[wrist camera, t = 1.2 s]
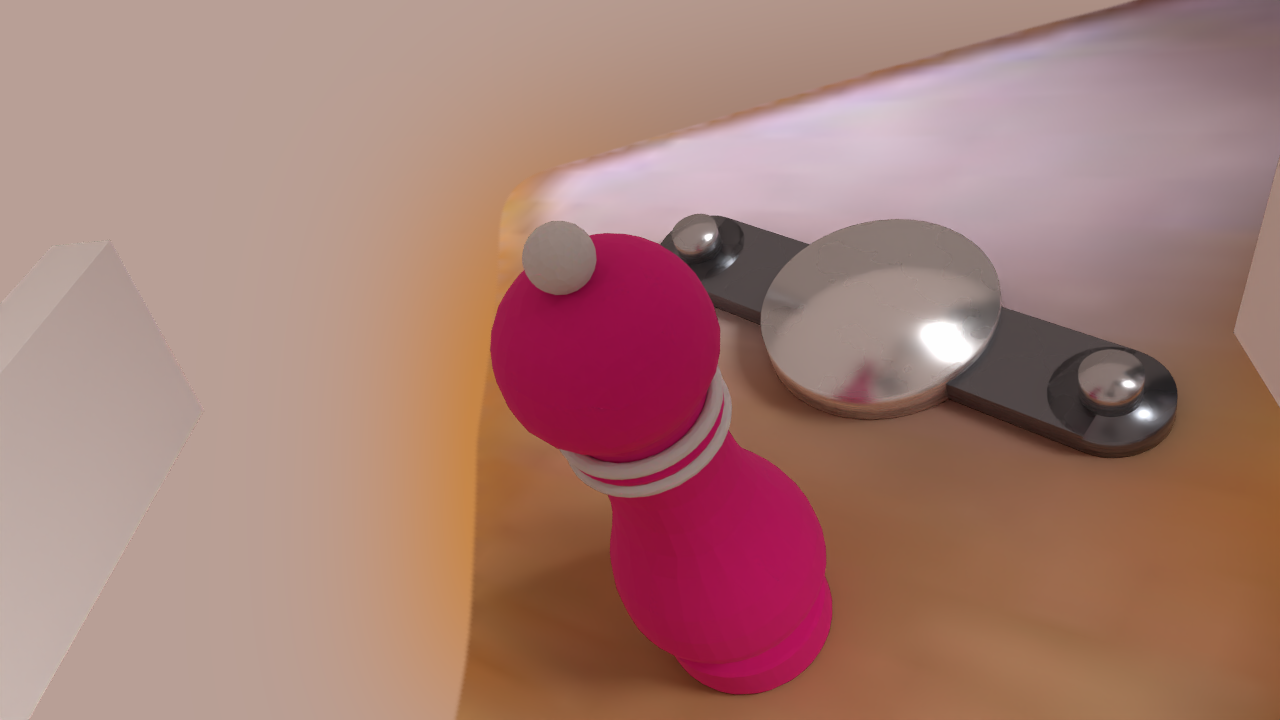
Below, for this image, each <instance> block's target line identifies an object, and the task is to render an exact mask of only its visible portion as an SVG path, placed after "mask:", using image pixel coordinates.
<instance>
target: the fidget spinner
mask: <svg viewBox="0 0 1280 720" xmlns="http://www.w3.org/2000/svg"><path fill="white" fill-rule="evenodd" d="M661 246H663V247H664V248H666V249H668V250H669V251H671V252H672V253H674V254H676V255H677V256H678V257H679V258H680V259H681V260H683V261H684V262H685V263H686V264H687V265H688V266H689V267H690V268H691V269H692V270H693V271H694V272H695V273H696V275H697V277H698V278H699V280H700V281H701V283H702V285H703V286H704V288H705V289H706V291H707V293H708V295H709V297H710V299H711V301H712V303H713V305H714V307H717V308H719V309H722V310H724V311H727V312H729V313H732V314H735V315H737V316H740V317H742V318H745V319H747V320H750V321H752V322H755V323H757V324H760V325H761V331H762V336H763V340H764V343H765V346H766V349H767V351H768V354H769V357H770V360H771V363H772V365H773V368H774V370H775V372H776V374H777V375H778V377H779V379H780V380H781V381H782V383H783V384H784V385H785V387H786V388H787V389H789V390H790V391H791V392H792V393H793V394H794V395H795V396H796V397H798V398H799V399H801V400H802V401H803V402H805V403H807V404H809V405H810V406H812V407H814V408H816V409H819V410H821V411H824V412H827V413H830V414H833V415H837V416H842V417H846V418H855V419H886V418H895V417H900V416H905V415H910V414H913V413H916V412H919V411H923V410H926V409H928V408H930V407H933V406H935V405H937V404H940V403H942V402H943V401H945V400H947V399H950V400H953V401H955V402H958V403H960V404H963V405H965V406H968V407H970V408H973V409H975V410H978V411H981V412H983V413H986V414H988V415H991V416H993V417H996V418H998V419H1001V420H1003V421H1006V422H1008V423H1011V424H1013V425H1016V426H1019V427H1021V428H1024V429H1026V430H1029V431H1031V432H1034V433H1036V434H1039V435H1041V436H1044V437H1046V438H1049V439H1052V440H1054V441H1057V442H1059V443H1062V444H1064V445H1067V446H1069V447H1072V448H1074V449H1077V450H1079V451H1082V452H1085V453H1088V454H1091V455H1095V456H1100V457H1109V458H1118V457H1128V456H1133V455H1136V454H1140V453H1143V452H1145V451H1147V450H1149V449H1151V448H1153V447H1155V446H1156V445H1158V444H1159V443H1160V442H1161V441H1162V440H1163V439H1164V438H1165V437H1166V436H1167V435H1168V434H1169V432H1170V431H1171V429H1172V427H1173V425H1174V421H1175V417H1176V407H1177V388H1176V384H1175V381H1174V379H1173V377H1172V376H1171V374H1170V373H1169V371H1168V370H1167V369H1166V368H1165V367H1164V366H1163V365H1162V364H1161V363H1160V362H1158V361H1157V360H1155V359H1154V358H1152V357H1150V356H1148V355H1146V354H1144V353H1142V352H1139V351H1136V350H1133V349H1130V348H1127V347H1124V346H1121V345H1118V344H1115V343H1112V342H1109V341H1105V340H1102V339H1099V338H1096V337H1093V336H1090V335H1087V334H1084V333H1081V332H1078V331H1075V330H1072V329H1068V328H1065V327H1062V326H1059V325H1056V324H1053V323H1050V322H1047V321H1044V320H1041V319H1038V318H1035V317H1031V316H1028V315H1025V314H1022V313H1019V312H1016V311H1013V310H1010V309H1007V308H1004V307H1002V304H1001V293H1000V286H999V280H998V277H997V274H996V271H995V269H994V267H993V265H992V264H991V262H990V260H989V259H988V257H987V256H986V255H985V254H984V252H983V251H982V250H981V249H980V248H979V247H978V246H976V245H975V244H974V243H973V242H972V241H970V240H969V239H967V238H966V237H964V236H963V235H961V234H959V233H957V232H955V231H953V230H951V229H948V228H946V227H943V226H940V225H937V224H932V223H928V222H924V221H916V220H903V219H891V220H878V221H872V222H865V223H861V224H857V225H853V226H850V227H847V228H844V229H841V230H838V231H836V232H833V233H831V234H829V235H827V236H824V237H822V238H821V239H819V240H817V241H815V242H813V243H812V244H810V245H809V244H806V243H803V242H800V241H797V240H794V239H791V238H788V237H785V236H782V235H779V234H775V233H772V232H769V231H766V230H763V229H760V228H757V227H754V226H751V225H748V224H745V223H742V222H738V221H735V220H732V219H729V218H726V217H722V216H709V215H705V214H694V215H691V216H688V217H686V218H684V219H682V220H681V221H679V222H678V223H677V224H676V225H675V227H674V228H673V230H672V231H671V232H670V233H669V234H668V235H667V236H666V238H665V239H664V240H663V242H662V243H661Z"/></svg>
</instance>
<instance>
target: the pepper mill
mask: <svg viewBox="0 0 1280 720" xmlns="http://www.w3.org/2000/svg"><path fill="white" fill-rule="evenodd" d="M522 260H523V267H524V271H523V272H522V273H521V274H520V275H519V276H518V277H517V278H516V280H515V281H514V282H513V284H512V285H511V286H510V288H509V289H508V291H507V292H506V294H505V296H504V297H503V299H502V301H501V303H500V305H499V307H498V310H497V314H496V317H495V321H494V324H493V328H492V331H491V349H490V351H491V359H492V367H493V371H494V375H495V378H496V382H497V384H498V386H499V388H500V390H501V392H502V395H503V397H504V399H505V401H506V403H507V405H508V407H509V409H510V410H511V411H512V413H513V414H514V415H515V417H516V418H517V419H518V420H519V422H520V423H521V424H522V425H523V426H524V427H525V428H526V429H527V430H528V431H529V432H530V433H532V434H533V435H535V436H537V437H538V438H540V439H542V440H544V441H545V442H547V443H549V444H551V445H552V446H554V447H556V448H557V449H559V450H560V451H561V453H562V454H563V456H564V457H565V458H566V459H567V460H568V462H569V464H570V466H571V468H572V469H573V471H574V472H575V474H576V475H577V476H578V477H579V479H580V480H582V481H583V482H584V483H585V484H587V485H588V486H590V487H591V488H593V489H595V490H597V491H599V492H601V493H604V494H608V497H609V499H610V501H611V506H612V511H613V519H612V531H611V539H610V557H611V564H612V570H613V574H614V579H615V584H616V588H617V591H618V593H619V595H620V597H621V600H622V602H623V604H624V606H625V608H626V610H627V612H628V614H629V615H630V617H631V618H632V620H633V621H634V623H635V624H636V626H637V628H638V629H639V630H640V631H641V632H642V633H643V634H644V635H645V636H646V637H647V638H648V639H649V640H650V641H651V642H653V643H654V644H655V645H657V646H658V647H659V648H661V649H663V650H665V651H667V652H668V653H670V654H672V655H674V656H675V657H676V659H677V660H678V662H679V663H680V664H681V665H682V667H683V668H684V669H685V670H686V671H687V672H688V673H689V674H690V675H691V676H692V677H694V678H695V679H696V680H698V681H699V682H701V683H702V684H704V685H706V686H708V687H711V688H713V689H715V690H718V691H721V692H725V693H730V694H753V693H760V692H765V691H769V690H772V689H774V688H776V687H778V686H780V685H783V684H785V683H787V682H789V681H791V680H792V679H794V678H795V677H796V676H798V675H799V674H800V673H801V672H803V671H804V670H805V669H806V668H807V667H808V666H809V665H810V664H811V663H812V662H813V661H814V659H815V658H816V656H817V655H818V654H819V652H820V650H821V649H822V647H823V645H824V643H825V641H826V638H827V636H828V633H829V630H830V624H831V619H832V597H831V593H830V589H829V586H828V583H827V580H826V577H825V568H826V546H825V541H824V537H823V532H822V528H821V526H820V523H819V521H818V519H817V517H816V514H815V512H814V510H813V508H812V507H811V505H810V503H809V501H808V499H807V497H806V496H805V495H804V493H803V492H802V491H801V490H800V488H799V487H798V486H797V485H796V483H795V482H794V481H792V480H791V479H790V478H789V477H788V476H787V475H786V474H785V473H783V472H782V471H781V470H780V469H779V468H778V467H776V466H775V465H773V464H772V463H770V462H769V461H767V460H766V459H764V458H762V457H760V456H758V455H756V454H755V453H753V452H750V451H748V450H746V449H743V448H741V447H740V446H739V445H738V444H737V443H736V441H735V440H734V438H733V436H732V435H731V433H730V432H729V430H728V429H729V426H730V423H731V414H732V403H731V397H730V394H729V390H728V387H727V385H726V383H725V381H724V380H723V378H722V374H721V372H720V369H719V366H718V359H719V354H720V326H719V323H718V319H717V316H716V312H715V309H714V305H713V303H712V301H711V299H710V297H709V295H708V293H707V291H706V289H705V288H704V286H703V285H702V283H701V281H700V280H699V278H698V277H697V275H696V273H695V272H694V271H693V270H692V269H691V268H690V267H689V266H688V265H687V264H686V263H685V262H684V261H683V260H681V259H680V258H679V257H678V256H677V255H676V254H674V253H672V252H671V251H669V250H668V249H666V248H664V247H663V246H661V245H659V244H658V243H655V242H652V241H650V240H647V239H644V238H642V237H637V236H632V235H627V234H610V233H604V234H595V235H590V236H589V235H588V234H587V233H586V232H585V231H584V230H583V229H581V228H580V227H578V226H577V225H575V224H573V223H569V222H565V221H551V222H548V223H545V224H543V225H542V226H540V227H538V228H536V229H535V230H534V231H533V233H532V234H531V235H530V236H529V237H528V239H527V241H526V243H525V245H524V249H523V256H522Z"/></svg>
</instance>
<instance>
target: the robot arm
mask: <svg viewBox="0 0 1280 720" xmlns="http://www.w3.org/2000/svg"><path fill="white" fill-rule="evenodd" d="M1233 333H1234V334H1235V336H1236V337H1237V339H1238V341H1239V342H1240V344H1241V345H1242V347H1243V349H1244V350H1245V352H1246V354H1247V355H1248V357H1249V358H1250V360H1251V362H1252V363H1253V365H1254V367H1255V368H1256V370H1257V371H1258V373H1259V375H1260V376H1261V378H1262V380H1263V381H1264V383H1265V384H1266V386H1267V388H1268V389H1269V391H1270V392H1271V394H1272V396H1273V397H1274V399H1275V401H1276V402H1277V404H1278V405H1279V407H1280V157H1279V161H1278V165H1277V168H1276V172H1275V176H1274V180H1273V184H1272V187H1271V191H1270V195H1269V199H1268V203H1267V206H1266V210H1265V214H1264V218H1263V222H1262V225H1261V229H1260V233H1259V237H1258V241H1257V244H1256V248H1255V252H1254V256H1253V260H1252V264H1251V267H1250V271H1249V275H1248V279H1247V283H1246V286H1245V290H1244V294H1243V298H1242V302H1241V305H1240V309H1239V313H1238V317H1237V321H1236V324H1235V328H1234V332H1233ZM203 412H204V409H203V407H202V406H201V404H200V402H199V400H198V398H197V396H196V395H195V393H194V391H193V389H192V387H191V386H190V384H189V382H188V380H187V378H186V376H185V375H184V373H183V371H182V369H181V367H180V366H179V364H178V362H177V360H176V358H175V356H174V355H173V353H172V351H171V349H170V347H169V346H168V344H167V342H166V340H165V338H164V337H163V335H162V333H161V331H160V329H159V327H158V326H157V324H156V322H155V320H154V318H153V317H152V315H151V313H150V311H149V309H148V308H147V306H146V304H145V302H144V300H143V298H142V297H141V295H140V293H139V291H138V289H137V288H136V286H135V284H134V282H133V280H132V279H131V277H130V275H129V273H128V271H127V269H126V268H125V266H124V264H123V262H122V261H121V259H120V257H119V255H118V253H117V251H116V249H115V248H114V246H113V244H112V242H111V240H106V241H96V242H85V243H76V244H66V245H56V246H51V248H50V249H49V250H48V251H47V252H46V253H45V254H44V255H43V257H42V258H41V259H40V260H39V261H38V262H37V263H36V264H35V265H34V267H33V268H32V269H31V270H30V271H29V272H28V273H27V275H26V276H25V277H24V278H23V279H22V280H21V281H20V282H19V283H18V284H17V286H16V287H15V288H14V289H13V290H12V291H11V292H10V293H9V295H8V296H7V297H6V298H5V299H4V300H3V301H2V302H1V303H0V720H29V719H30V717H31V716H32V714H33V712H34V710H35V709H36V707H37V705H38V703H39V701H40V700H41V698H42V696H43V694H44V693H45V691H46V689H47V687H48V686H49V684H50V682H51V680H52V678H53V676H54V675H55V673H56V671H57V670H58V668H59V666H60V664H61V663H62V661H63V659H64V657H65V656H66V654H67V652H68V650H69V648H70V647H71V645H72V643H73V641H74V639H75V638H76V636H77V634H78V633H79V631H80V629H81V627H82V625H83V624H84V622H85V620H86V618H87V617H88V615H89V613H90V611H91V610H92V607H93V606H94V604H95V602H96V601H97V599H98V597H99V595H100V594H101V592H102V590H103V588H104V587H105V585H106V583H107V581H108V580H109V578H110V576H111V574H112V572H113V571H114V569H115V567H116V565H117V564H118V562H119V560H120V558H121V556H122V555H123V553H124V551H125V549H126V548H127V546H128V544H129V542H130V541H131V539H132V537H133V535H134V533H135V532H136V530H137V528H138V527H139V525H140V523H141V521H142V519H143V518H144V516H145V514H146V512H147V510H148V509H149V507H150V505H151V503H152V502H153V500H154V498H155V496H156V495H157V493H158V491H159V489H160V488H161V486H162V484H163V482H164V481H165V479H166V477H167V475H168V473H169V472H170V470H171V468H172V466H173V465H174V463H175V461H176V459H177V458H178V456H179V454H180V452H181V451H182V449H183V447H184V445H185V443H186V441H187V440H188V438H189V436H190V435H191V433H192V431H193V429H194V428H195V426H196V424H197V422H198V420H199V419H200V417H201V415H202V413H203Z"/></svg>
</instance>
